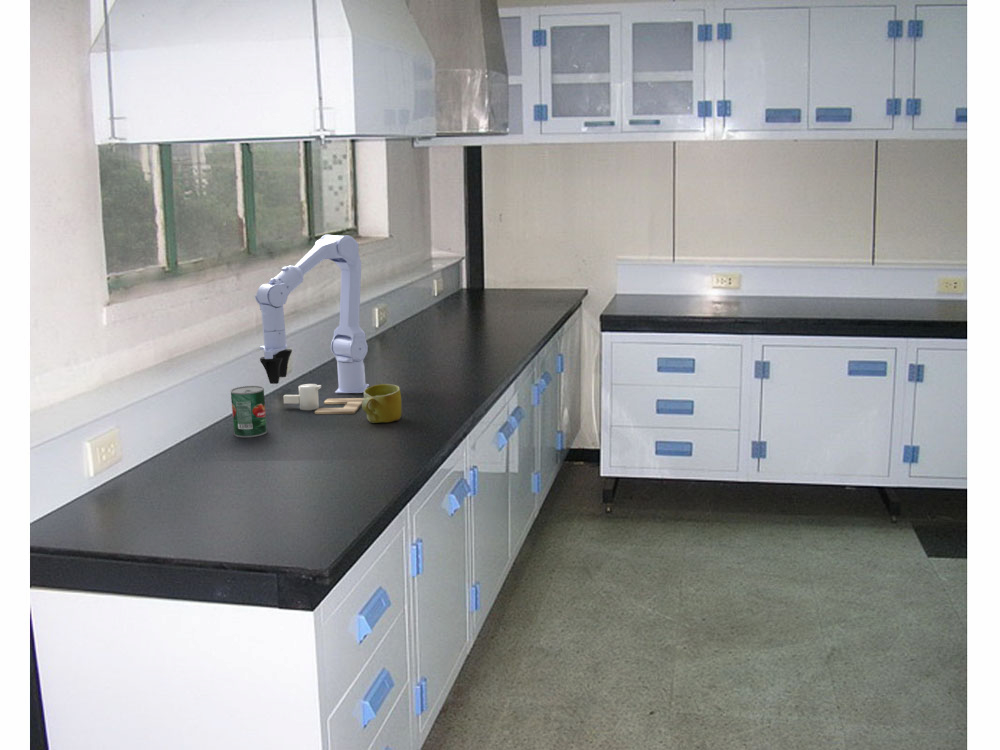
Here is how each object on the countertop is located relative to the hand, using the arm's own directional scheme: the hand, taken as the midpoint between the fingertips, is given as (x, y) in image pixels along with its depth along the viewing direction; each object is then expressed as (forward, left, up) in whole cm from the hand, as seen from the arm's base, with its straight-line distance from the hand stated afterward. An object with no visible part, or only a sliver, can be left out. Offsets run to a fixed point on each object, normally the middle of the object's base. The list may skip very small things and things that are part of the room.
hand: (278, 380), depth 274 cm
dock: (0, +16, -8) cm, 18 cm away
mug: (+15, +29, -8) cm, 34 cm away
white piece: (0, +6, -8) cm, 10 cm away
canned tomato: (+25, -1, -8) cm, 26 cm away
